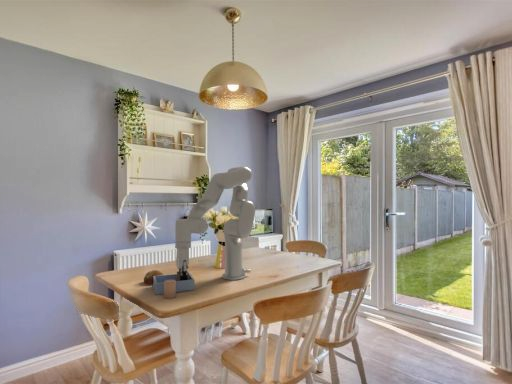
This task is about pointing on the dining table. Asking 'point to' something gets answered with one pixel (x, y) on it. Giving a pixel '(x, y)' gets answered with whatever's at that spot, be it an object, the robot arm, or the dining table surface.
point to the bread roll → (151, 276)
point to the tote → (180, 285)
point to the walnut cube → (180, 274)
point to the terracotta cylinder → (169, 289)
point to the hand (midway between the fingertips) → (182, 281)
